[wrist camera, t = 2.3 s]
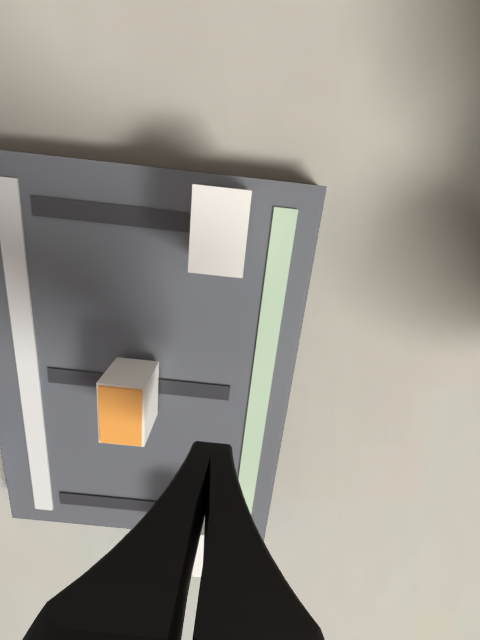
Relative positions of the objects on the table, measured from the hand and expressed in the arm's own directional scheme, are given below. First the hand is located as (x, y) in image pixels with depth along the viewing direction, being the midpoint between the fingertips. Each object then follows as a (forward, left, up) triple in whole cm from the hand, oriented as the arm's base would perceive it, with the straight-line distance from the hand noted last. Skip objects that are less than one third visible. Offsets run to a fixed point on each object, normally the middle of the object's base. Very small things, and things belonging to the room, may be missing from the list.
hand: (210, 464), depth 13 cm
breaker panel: (-4, 0, -7) cm, 8 cm away
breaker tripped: (-4, 0, -5) cm, 6 cm away
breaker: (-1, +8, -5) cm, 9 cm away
